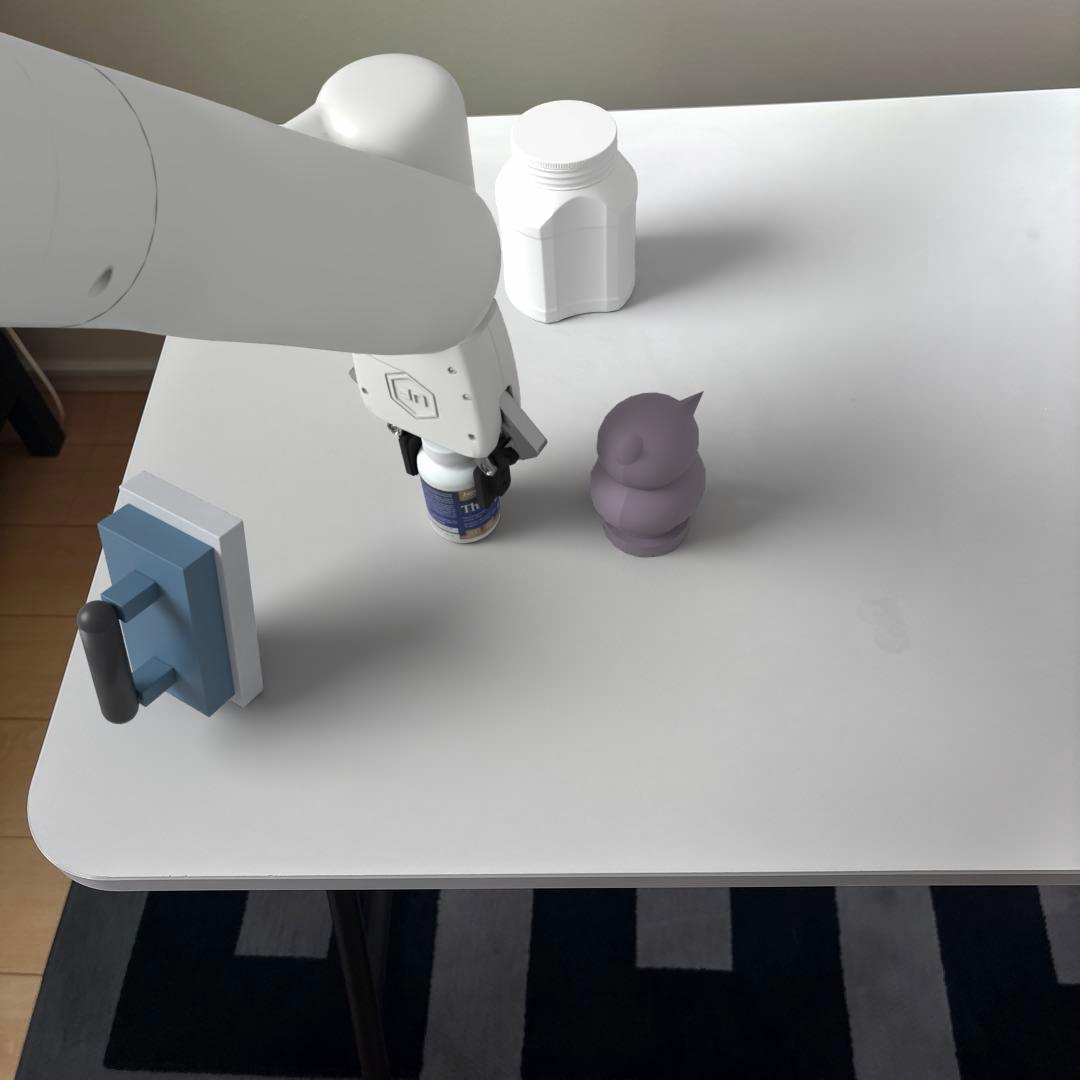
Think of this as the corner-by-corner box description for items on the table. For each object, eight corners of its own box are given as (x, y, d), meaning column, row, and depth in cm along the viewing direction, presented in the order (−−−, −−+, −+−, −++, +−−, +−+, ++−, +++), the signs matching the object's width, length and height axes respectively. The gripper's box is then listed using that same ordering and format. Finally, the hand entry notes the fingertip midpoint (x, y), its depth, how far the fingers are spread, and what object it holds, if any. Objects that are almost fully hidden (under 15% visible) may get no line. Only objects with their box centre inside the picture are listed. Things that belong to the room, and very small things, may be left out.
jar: (619, 235, 97) (620, 83, 85) (647, 305, 92) (653, 153, 79) (496, 258, 96) (479, 108, 84) (516, 330, 91) (502, 180, 79)
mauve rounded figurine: (648, 459, 82) (653, 346, 72) (725, 518, 78) (740, 407, 69) (567, 522, 79) (560, 413, 69) (643, 586, 75) (647, 481, 66)
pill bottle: (476, 556, 78) (460, 472, 70) (416, 527, 79) (394, 442, 71) (515, 505, 80) (504, 418, 72) (456, 478, 82) (440, 390, 74)
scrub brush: (143, 469, 65) (16, 550, 59) (243, 520, 62) (121, 610, 56) (176, 639, 75) (70, 724, 68) (264, 689, 72) (162, 782, 66)
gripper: (265, 274, 62) (331, 469, 77) (513, 373, 57) (534, 563, 71) (342, 201, 66) (391, 401, 81) (583, 288, 60) (588, 486, 75)
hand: (458, 476), depth 76 cm, fingers closed on pill bottle, 5 cm apart
